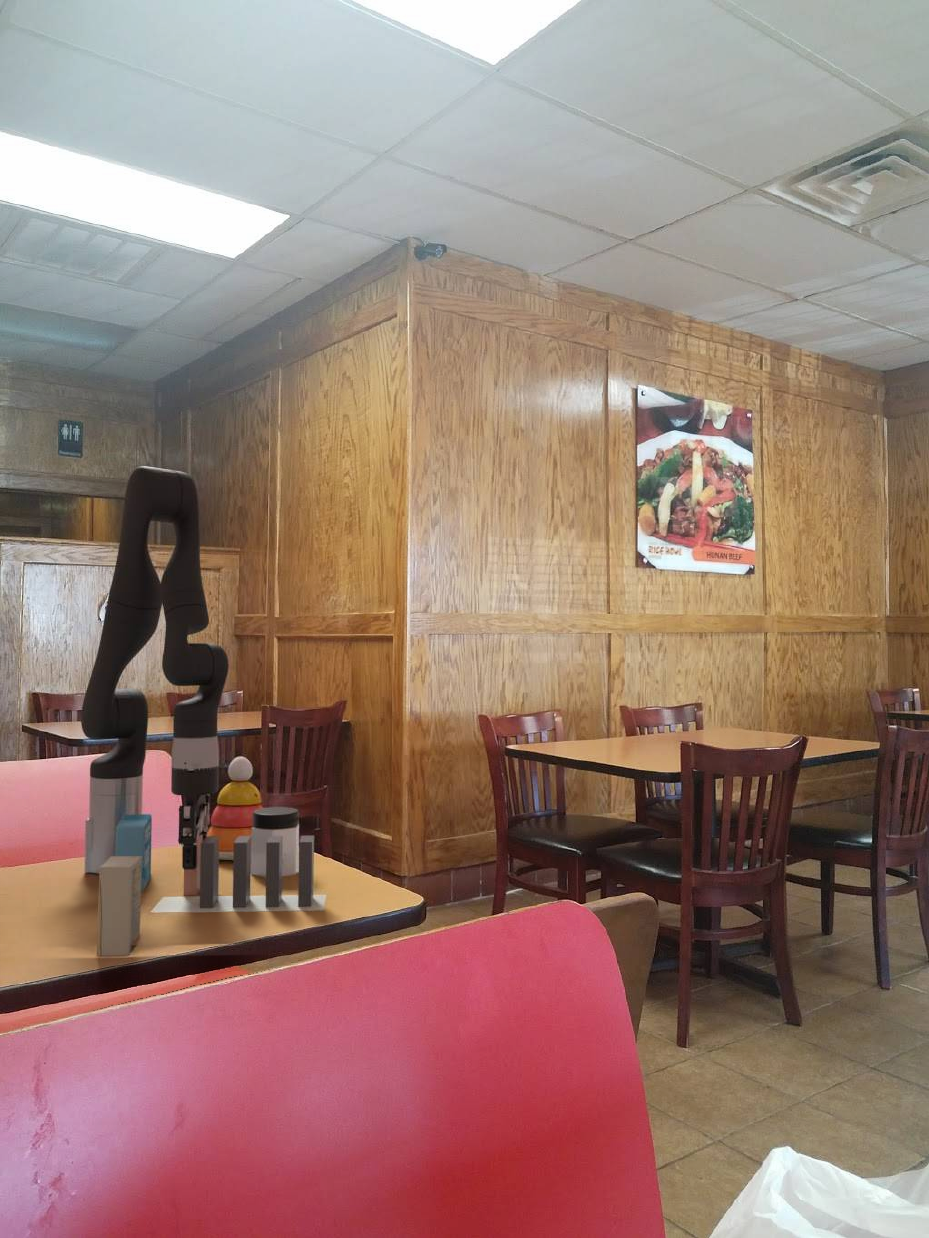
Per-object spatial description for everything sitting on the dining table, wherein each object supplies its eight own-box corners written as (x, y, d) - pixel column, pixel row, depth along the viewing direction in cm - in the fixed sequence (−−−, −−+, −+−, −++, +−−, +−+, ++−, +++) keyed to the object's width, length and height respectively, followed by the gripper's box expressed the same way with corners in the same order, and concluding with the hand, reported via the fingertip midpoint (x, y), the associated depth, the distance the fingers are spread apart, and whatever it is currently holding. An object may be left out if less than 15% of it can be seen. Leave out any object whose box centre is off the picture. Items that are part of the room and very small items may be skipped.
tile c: (232, 907, 148) (233, 842, 149) (237, 899, 153) (238, 836, 154) (245, 907, 149) (246, 842, 149) (250, 898, 154) (251, 836, 154)
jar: (259, 886, 166) (260, 816, 167) (242, 876, 173) (243, 809, 173) (307, 879, 171) (308, 812, 171) (289, 870, 178) (290, 805, 178)
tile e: (298, 906, 149) (299, 842, 150) (300, 898, 154) (301, 835, 155) (311, 906, 150) (312, 842, 150) (313, 898, 155) (314, 835, 155)
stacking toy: (259, 866, 181) (261, 762, 182) (188, 862, 183) (190, 760, 184) (285, 850, 195) (286, 753, 196) (218, 847, 197) (220, 752, 198)
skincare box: (109, 942, 135) (110, 855, 135) (141, 942, 135) (143, 855, 135) (95, 957, 129) (97, 866, 129) (129, 956, 129) (131, 865, 129)
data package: (143, 898, 158) (144, 825, 158) (114, 900, 157) (115, 826, 157) (150, 880, 170) (152, 812, 170) (123, 881, 169) (125, 813, 169)
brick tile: (183, 902, 156) (184, 840, 156) (189, 894, 161) (190, 834, 161) (196, 902, 156) (197, 840, 156) (201, 894, 161) (202, 834, 161)
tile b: (199, 908, 148) (200, 843, 148) (205, 899, 153) (206, 836, 153) (212, 908, 148) (213, 842, 148) (218, 899, 153) (219, 836, 153)
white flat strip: (149, 920, 145) (150, 912, 145) (163, 904, 154) (163, 896, 154) (323, 917, 148) (323, 909, 148) (326, 901, 157) (326, 894, 157)
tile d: (265, 907, 149) (266, 842, 149) (269, 898, 154) (270, 835, 154) (278, 907, 149) (279, 842, 149) (281, 898, 154) (282, 835, 154)
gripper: (180, 759, 165) (180, 854, 165) (162, 769, 151) (161, 873, 151) (225, 759, 166) (224, 853, 165) (211, 768, 152) (210, 872, 151)
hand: (194, 863), depth 158 cm, fingers open, 8 cm apart
